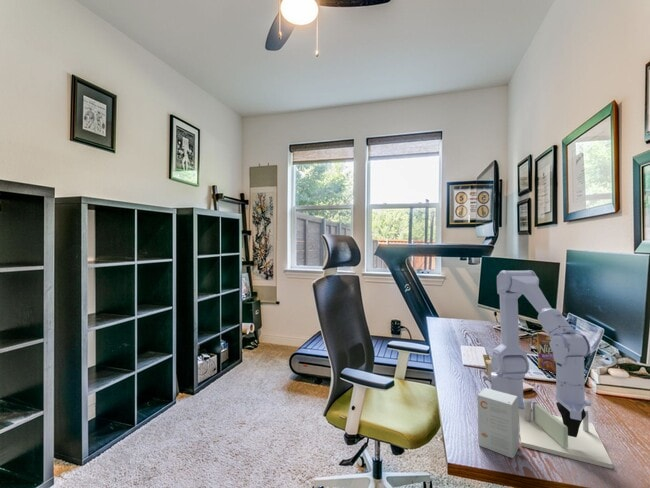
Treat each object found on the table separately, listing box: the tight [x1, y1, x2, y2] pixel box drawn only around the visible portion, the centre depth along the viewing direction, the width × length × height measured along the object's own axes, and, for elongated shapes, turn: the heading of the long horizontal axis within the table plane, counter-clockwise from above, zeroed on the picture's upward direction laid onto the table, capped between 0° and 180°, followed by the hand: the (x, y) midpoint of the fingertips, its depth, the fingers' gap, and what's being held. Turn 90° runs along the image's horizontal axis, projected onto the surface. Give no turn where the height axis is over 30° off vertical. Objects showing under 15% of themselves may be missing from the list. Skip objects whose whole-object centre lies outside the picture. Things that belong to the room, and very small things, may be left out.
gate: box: [532, 401, 568, 448], centre depth 86 cm, size 13×1×5 cm, turn 177°
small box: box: [477, 387, 520, 459], centre depth 82 cm, size 8×6×13 cm
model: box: [482, 353, 495, 382], centre depth 128 cm, size 3×11×8 cm, turn 169°
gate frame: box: [518, 399, 614, 470], centre depth 87 cm, size 18×20×6 cm
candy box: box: [536, 331, 556, 373], centre depth 132 cm, size 9×4×15 cm, turn 17°
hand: (571, 435), depth 81 cm, fingers closed
